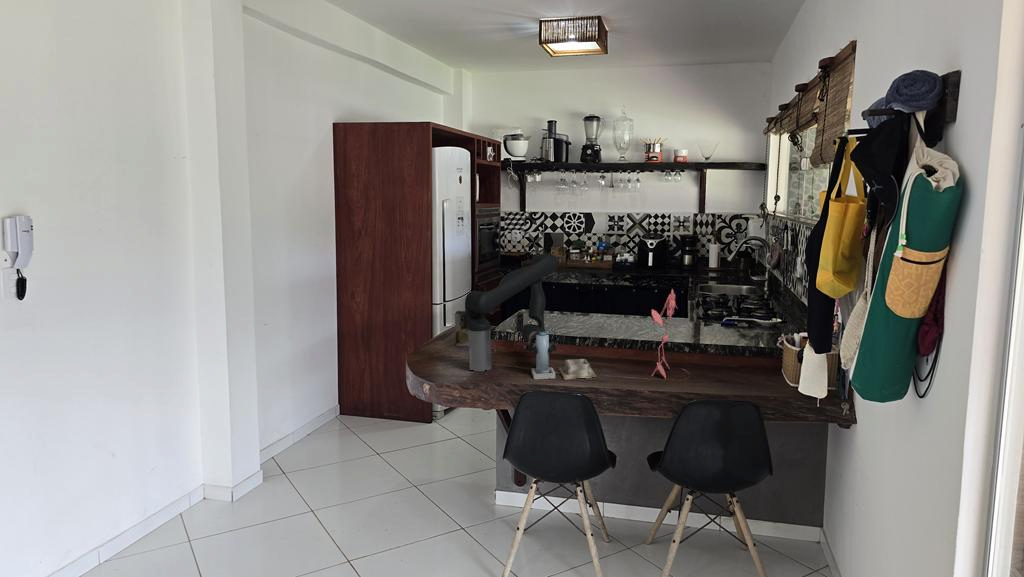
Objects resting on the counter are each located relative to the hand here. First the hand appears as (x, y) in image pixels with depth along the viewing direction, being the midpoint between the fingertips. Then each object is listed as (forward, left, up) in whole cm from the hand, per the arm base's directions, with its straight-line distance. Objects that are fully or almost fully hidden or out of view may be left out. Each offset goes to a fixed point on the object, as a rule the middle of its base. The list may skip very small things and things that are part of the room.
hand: (543, 351), depth 285 cm
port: (+14, +3, -11) cm, 18 cm away
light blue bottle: (0, +3, -8) cm, 8 cm away
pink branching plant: (+51, -4, -11) cm, 53 cm away
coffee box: (-30, +59, -11) cm, 67 cm away
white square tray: (0, +3, -11) cm, 11 cm away
